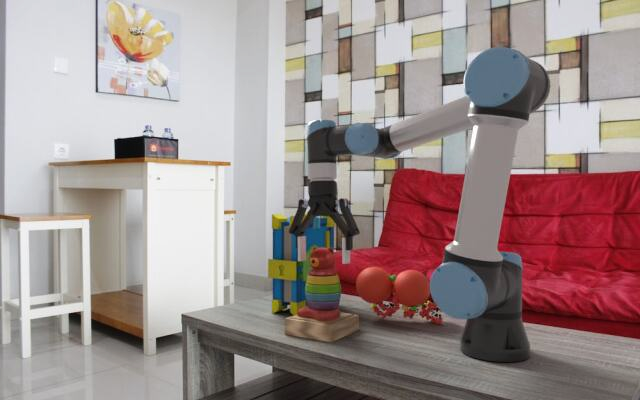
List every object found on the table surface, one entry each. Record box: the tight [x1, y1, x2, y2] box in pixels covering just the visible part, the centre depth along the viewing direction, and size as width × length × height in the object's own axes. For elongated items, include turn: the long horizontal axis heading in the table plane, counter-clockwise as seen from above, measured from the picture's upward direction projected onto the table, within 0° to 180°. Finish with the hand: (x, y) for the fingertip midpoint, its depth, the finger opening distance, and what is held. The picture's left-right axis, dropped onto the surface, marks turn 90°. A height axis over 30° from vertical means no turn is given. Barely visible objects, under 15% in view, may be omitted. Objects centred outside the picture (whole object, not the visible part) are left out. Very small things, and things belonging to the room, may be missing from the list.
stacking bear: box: [297, 247, 342, 321], centre depth 133 cm, size 11×10×18 cm
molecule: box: [355, 266, 444, 325], centre depth 144 cm, size 25×11×15 cm, turn 77°
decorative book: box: [267, 212, 336, 316], centre depth 160 cm, size 14×23×30 cm, turn 145°
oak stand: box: [284, 311, 360, 343], centre depth 133 cm, size 14×14×4 cm
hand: (323, 262), depth 133 cm, fingers open, 13 cm apart
